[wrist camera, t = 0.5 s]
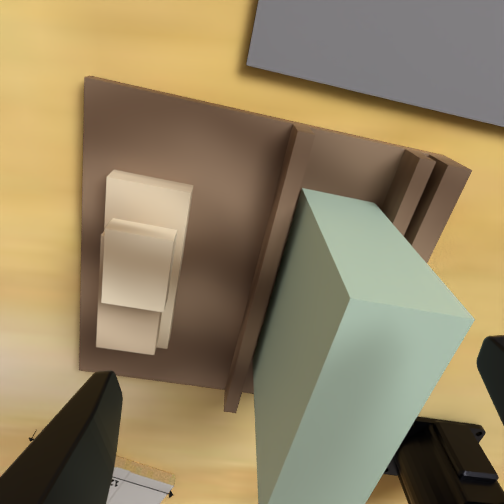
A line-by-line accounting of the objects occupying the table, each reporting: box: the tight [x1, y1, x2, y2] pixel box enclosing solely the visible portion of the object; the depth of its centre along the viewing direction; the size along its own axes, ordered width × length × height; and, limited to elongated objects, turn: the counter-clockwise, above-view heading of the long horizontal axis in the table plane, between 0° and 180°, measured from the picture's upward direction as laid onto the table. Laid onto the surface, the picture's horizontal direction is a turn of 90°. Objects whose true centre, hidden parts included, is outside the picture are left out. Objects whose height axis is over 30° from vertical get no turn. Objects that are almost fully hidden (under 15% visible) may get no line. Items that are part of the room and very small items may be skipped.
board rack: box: [79, 76, 472, 413], centre depth 22 cm, size 18×18×3 cm
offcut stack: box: [96, 170, 194, 355], centre depth 20 cm, size 10×4×4 cm, turn 168°
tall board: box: [253, 188, 475, 504], centre depth 19 cm, size 12×4×10 cm, turn 168°
